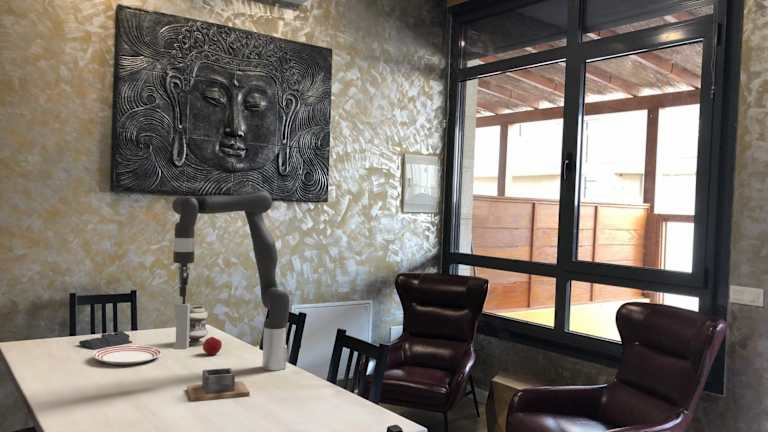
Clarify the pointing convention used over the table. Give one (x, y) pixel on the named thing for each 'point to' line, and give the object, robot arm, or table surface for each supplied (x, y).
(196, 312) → the apothecary jar
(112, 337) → the dark slate chunk
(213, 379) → the phone dock
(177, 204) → the robot arm
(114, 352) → the dinner plate
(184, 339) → the vintage mobile phone
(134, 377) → the table surface
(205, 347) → the apple
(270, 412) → the table surface
